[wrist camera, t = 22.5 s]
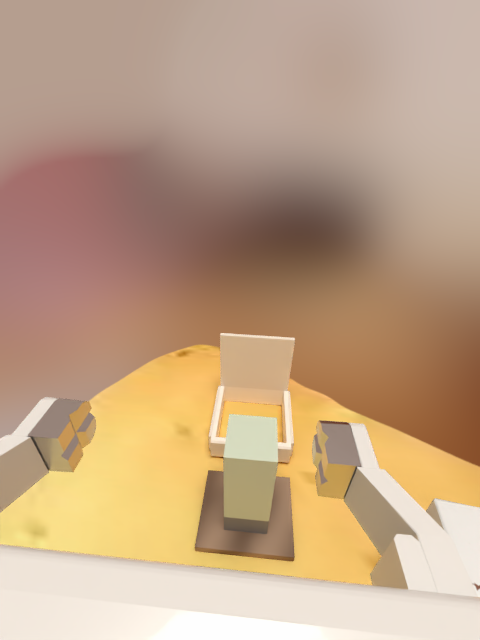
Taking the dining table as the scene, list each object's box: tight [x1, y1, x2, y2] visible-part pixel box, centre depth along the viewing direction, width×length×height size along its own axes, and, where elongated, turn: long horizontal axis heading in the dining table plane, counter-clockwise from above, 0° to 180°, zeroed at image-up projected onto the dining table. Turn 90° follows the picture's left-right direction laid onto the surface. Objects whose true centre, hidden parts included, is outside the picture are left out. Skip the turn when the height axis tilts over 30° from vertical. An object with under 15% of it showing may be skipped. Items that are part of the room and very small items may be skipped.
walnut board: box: [195, 470, 294, 561], centre depth 38 cm, size 11×9×1 cm
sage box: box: [223, 414, 278, 534], centre depth 34 cm, size 5×5×14 cm
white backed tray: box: [209, 333, 295, 463], centre depth 45 cm, size 12×12×14 cm
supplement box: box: [426, 499, 480, 597], centre depth 28 cm, size 7×7×13 cm
